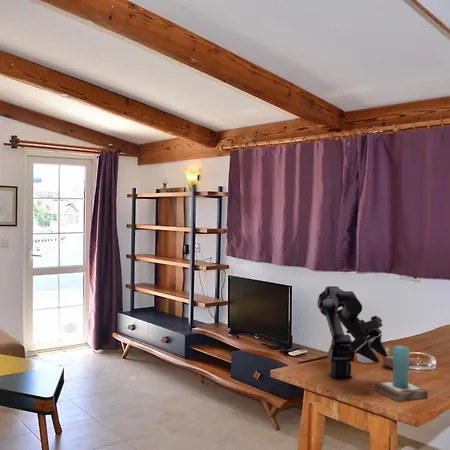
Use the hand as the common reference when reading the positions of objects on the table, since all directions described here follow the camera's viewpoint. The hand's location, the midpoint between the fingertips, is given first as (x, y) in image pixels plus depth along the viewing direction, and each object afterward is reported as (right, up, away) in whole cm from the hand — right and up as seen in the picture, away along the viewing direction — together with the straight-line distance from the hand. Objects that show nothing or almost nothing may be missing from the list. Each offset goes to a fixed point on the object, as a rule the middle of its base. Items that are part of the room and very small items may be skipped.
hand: (382, 359), depth 182 cm
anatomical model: (+16, -11, +34) cm, 39 cm away
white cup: (+4, -10, +37) cm, 39 cm away
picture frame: (+5, -11, -4) cm, 12 cm away
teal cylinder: (+5, -8, -4) cm, 10 cm away
